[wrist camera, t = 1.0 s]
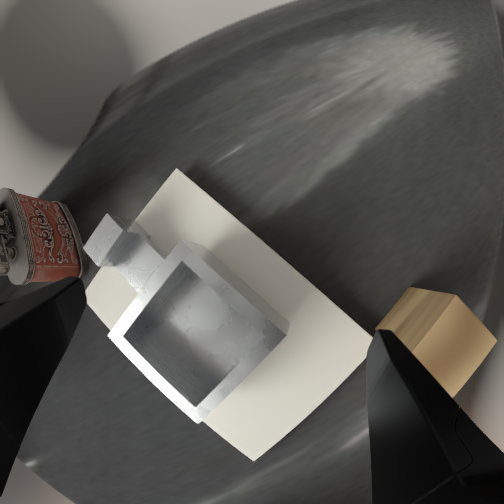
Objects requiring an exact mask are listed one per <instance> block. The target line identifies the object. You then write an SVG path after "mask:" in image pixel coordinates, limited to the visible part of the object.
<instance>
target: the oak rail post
mask: <svg viewBox="0 0 504 504" xmlns="http://www.w3.org/2000/svg"><path fill="white" fill-rule="evenodd" d="M378 329H387V330H391V331H392V332H393V333H394V334H395V335H396V336H397V337H398V338H399V339H400V340H401V341H402V342H403V343H404V345H405V346H406V347H407V348H408V349H409V350H410V351H411V352H412V353H413V354H414V355H415V357H416V358H417V359H418V360H419V361H420V362H421V363H422V364H423V365H424V366H425V368H426V369H427V370H428V371H429V372H430V373H431V374H432V375H433V377H434V378H435V379H436V380H437V381H438V382H439V383H440V384H441V386H442V387H443V388H444V389H445V390H446V391H447V392H448V394H449V395H450V396H451V397H452V398H453V397H454V396H455V395H456V393H457V392H458V391H459V390H460V389H461V387H462V386H463V385H464V384H465V383H466V381H467V380H468V379H469V378H470V376H471V375H472V374H473V373H474V371H475V370H476V369H477V368H478V366H479V365H480V364H481V362H482V361H483V360H484V358H485V357H486V356H487V354H488V353H489V351H490V350H491V349H492V347H493V346H494V344H495V343H496V342H497V340H496V339H495V338H494V336H493V335H492V334H491V333H490V332H489V331H488V329H487V328H486V327H485V326H484V325H483V324H482V323H481V321H480V320H479V319H478V318H477V317H476V316H475V315H474V314H473V313H472V312H471V310H470V309H469V308H468V307H467V306H466V305H465V304H464V303H463V302H462V301H461V300H460V299H459V298H458V296H457V295H454V294H448V293H442V292H436V291H431V290H425V289H419V288H413V287H408V289H407V290H406V291H405V293H404V294H403V295H402V296H401V298H400V299H399V300H398V301H397V303H396V304H395V305H394V306H393V307H392V309H391V310H390V311H389V312H388V313H387V315H386V316H385V317H384V318H383V319H382V321H381V322H380V323H379V324H378V325H377V326H376V328H375V329H374V330H375V331H377V330H378Z"/></svg>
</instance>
